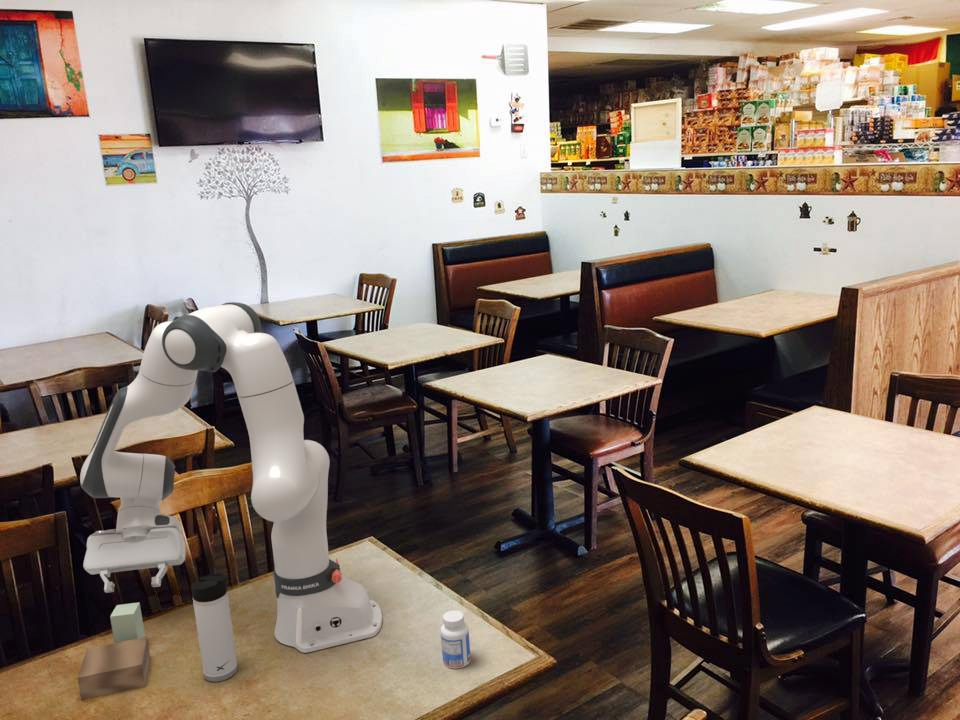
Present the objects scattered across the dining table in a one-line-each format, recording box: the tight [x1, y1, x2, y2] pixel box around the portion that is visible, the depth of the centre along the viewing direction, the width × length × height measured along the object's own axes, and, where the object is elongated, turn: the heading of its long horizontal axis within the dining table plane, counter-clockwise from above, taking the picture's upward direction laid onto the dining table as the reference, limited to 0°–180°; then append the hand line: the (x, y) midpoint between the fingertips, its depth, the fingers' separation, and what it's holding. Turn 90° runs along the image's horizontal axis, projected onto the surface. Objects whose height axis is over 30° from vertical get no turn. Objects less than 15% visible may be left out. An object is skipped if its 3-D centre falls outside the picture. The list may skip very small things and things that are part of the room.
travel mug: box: [190, 572, 238, 683], centre depth 148 cm, size 6×7×20 cm
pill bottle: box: [440, 609, 471, 670], centre depth 149 cm, size 6×5×10 cm
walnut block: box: [77, 636, 151, 701], centre depth 150 cm, size 11×10×5 cm
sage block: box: [109, 602, 146, 643], centre depth 159 cm, size 4×4×9 cm
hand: (132, 589), depth 164 cm, fingers open, 8 cm apart
